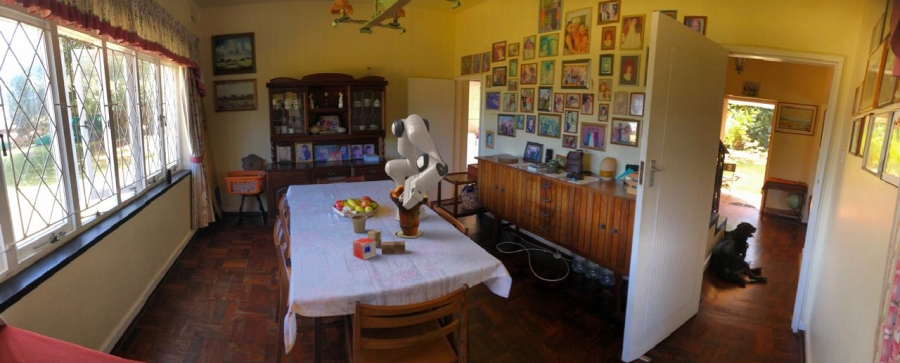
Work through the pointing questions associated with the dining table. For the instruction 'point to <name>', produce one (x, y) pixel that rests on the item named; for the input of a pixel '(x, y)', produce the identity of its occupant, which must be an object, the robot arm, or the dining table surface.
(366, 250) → the red and cream cube
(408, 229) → the decorative vase
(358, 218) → the flower pot
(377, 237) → the oak block
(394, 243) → the walnut block
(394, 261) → the dining table surface
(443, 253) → the dining table surface
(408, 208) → the robot arm
